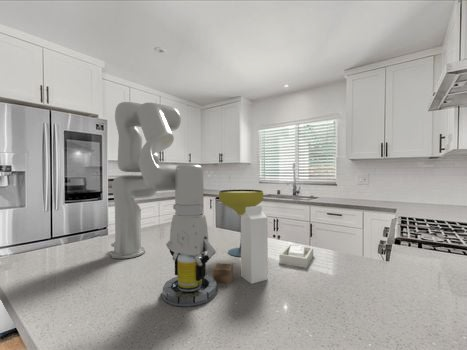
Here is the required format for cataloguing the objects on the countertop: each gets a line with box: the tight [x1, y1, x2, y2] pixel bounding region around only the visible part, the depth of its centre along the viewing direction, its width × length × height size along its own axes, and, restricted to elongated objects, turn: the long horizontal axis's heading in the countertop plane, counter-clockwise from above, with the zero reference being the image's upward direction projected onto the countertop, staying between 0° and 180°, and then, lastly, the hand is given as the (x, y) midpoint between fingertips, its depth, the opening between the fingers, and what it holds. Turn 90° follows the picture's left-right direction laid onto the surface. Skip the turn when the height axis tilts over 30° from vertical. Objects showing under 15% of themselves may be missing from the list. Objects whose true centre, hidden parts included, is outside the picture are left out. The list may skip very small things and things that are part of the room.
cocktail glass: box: [218, 189, 265, 258], centre depth 98 cm, size 18×18×25 cm
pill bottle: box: [177, 254, 202, 292], centre depth 65 cm, size 6×6×12 cm
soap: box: [288, 245, 305, 258], centre depth 90 cm, size 9×6×3 cm, turn 162°
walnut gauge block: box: [213, 262, 234, 284], centre depth 73 cm, size 5×5×4 cm
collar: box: [161, 274, 218, 308], centre depth 65 cm, size 15×15×2 cm
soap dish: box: [279, 244, 314, 269], centre depth 90 cm, size 9×13×3 cm
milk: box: [240, 205, 269, 285], centre depth 74 cm, size 6×6×22 cm
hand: (189, 275), depth 65 cm, fingers closed on pill bottle, 6 cm apart
